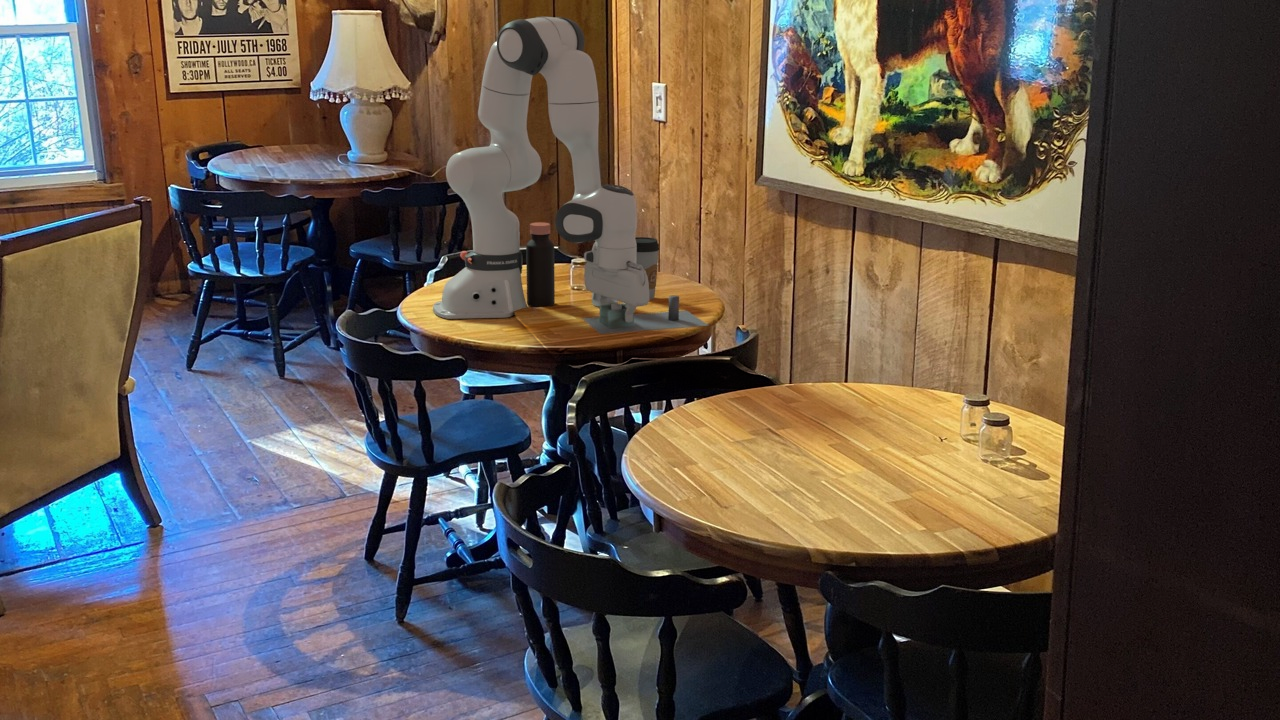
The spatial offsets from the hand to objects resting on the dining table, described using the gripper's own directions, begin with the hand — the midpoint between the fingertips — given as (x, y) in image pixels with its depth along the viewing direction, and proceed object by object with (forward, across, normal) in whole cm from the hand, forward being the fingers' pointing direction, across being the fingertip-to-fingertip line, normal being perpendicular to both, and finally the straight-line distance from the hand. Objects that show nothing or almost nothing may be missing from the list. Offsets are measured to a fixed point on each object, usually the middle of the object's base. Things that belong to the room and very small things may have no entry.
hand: (616, 317), depth 269 cm
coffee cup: (+3, +19, -22) cm, 29 cm away
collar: (+2, 0, 0) cm, 2 cm away
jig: (+2, -2, -7) cm, 7 cm away
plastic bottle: (+3, +16, -9) cm, 18 cm away
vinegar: (+3, +28, +2) cm, 28 cm away
